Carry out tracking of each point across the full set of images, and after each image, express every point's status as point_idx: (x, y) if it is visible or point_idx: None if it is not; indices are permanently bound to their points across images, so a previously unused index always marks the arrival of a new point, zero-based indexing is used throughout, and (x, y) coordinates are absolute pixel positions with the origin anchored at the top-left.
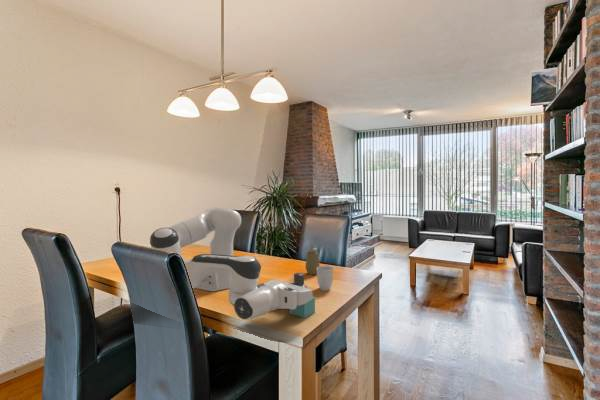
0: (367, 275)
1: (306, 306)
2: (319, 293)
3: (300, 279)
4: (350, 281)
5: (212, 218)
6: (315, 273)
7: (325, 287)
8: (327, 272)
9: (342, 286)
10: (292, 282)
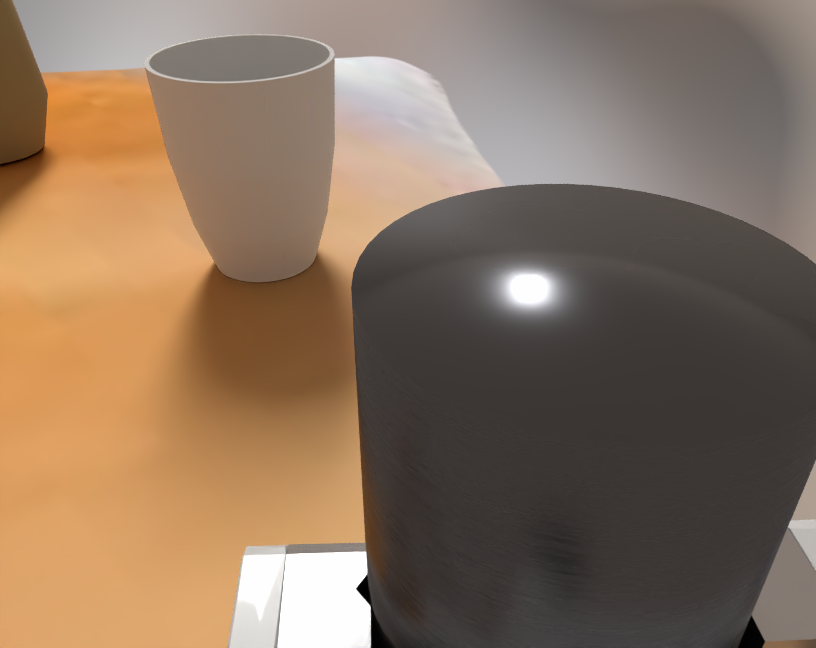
0: (375, 79)
1: None
2: (289, 334)
3: (800, 493)
4: (350, 139)
5: None
6: (32, 145)
7: (297, 250)
8: (312, 92)
9: (362, 192)
10: (285, 633)
